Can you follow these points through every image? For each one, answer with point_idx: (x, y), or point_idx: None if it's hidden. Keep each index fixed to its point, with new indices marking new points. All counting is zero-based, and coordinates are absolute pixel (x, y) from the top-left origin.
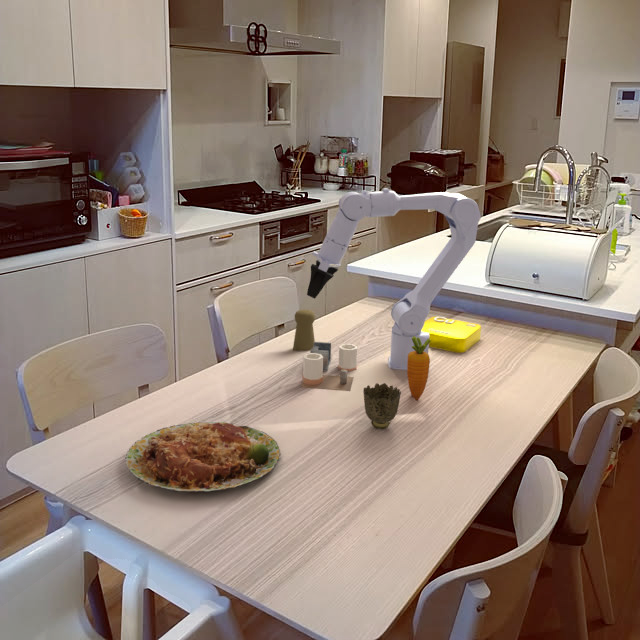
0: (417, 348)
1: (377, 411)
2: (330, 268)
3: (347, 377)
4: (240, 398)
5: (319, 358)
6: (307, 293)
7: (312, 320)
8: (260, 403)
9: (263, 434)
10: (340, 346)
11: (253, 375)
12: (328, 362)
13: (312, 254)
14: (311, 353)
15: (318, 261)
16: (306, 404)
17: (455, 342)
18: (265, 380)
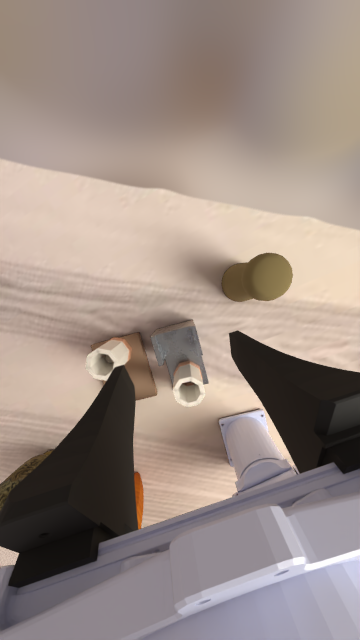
0: None
1: (12, 484)
2: (305, 461)
3: (151, 388)
4: (36, 279)
5: (98, 377)
6: (112, 372)
7: (256, 299)
8: (36, 311)
9: None
10: (184, 379)
11: (113, 256)
12: (181, 350)
13: (177, 537)
14: (112, 356)
15: (333, 414)
16: (64, 364)
17: None
18: (106, 281)
